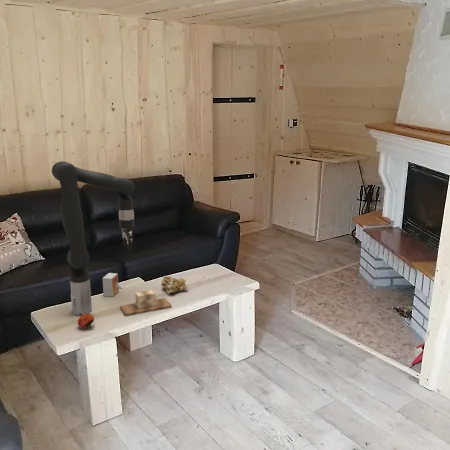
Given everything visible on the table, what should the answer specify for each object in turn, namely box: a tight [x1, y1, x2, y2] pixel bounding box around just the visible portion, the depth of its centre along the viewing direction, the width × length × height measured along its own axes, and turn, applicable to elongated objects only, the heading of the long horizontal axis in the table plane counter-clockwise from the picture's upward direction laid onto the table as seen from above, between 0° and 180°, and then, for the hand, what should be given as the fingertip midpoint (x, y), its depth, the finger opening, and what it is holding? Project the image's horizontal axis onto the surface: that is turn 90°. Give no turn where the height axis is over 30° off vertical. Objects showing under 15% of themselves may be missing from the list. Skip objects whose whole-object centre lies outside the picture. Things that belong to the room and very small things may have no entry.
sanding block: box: [134, 289, 157, 309], centre depth 245 cm, size 9×5×7 cm, turn 115°
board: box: [119, 297, 172, 317], centre depth 246 cm, size 24×10×1 cm, turn 115°
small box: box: [102, 272, 120, 298], centre depth 262 cm, size 8×6×10 cm
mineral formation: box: [160, 275, 188, 296], centre depth 268 cm, size 8×13×15 cm
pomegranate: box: [77, 313, 95, 330], centre depth 225 cm, size 7×7×10 cm
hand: (128, 248), depth 250 cm, fingers open, 8 cm apart
